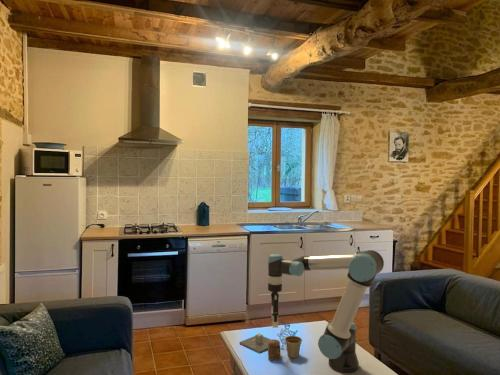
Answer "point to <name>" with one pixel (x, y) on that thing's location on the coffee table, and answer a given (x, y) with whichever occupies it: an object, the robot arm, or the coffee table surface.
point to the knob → (274, 349)
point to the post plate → (256, 343)
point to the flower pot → (293, 345)
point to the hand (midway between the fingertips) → (274, 322)
